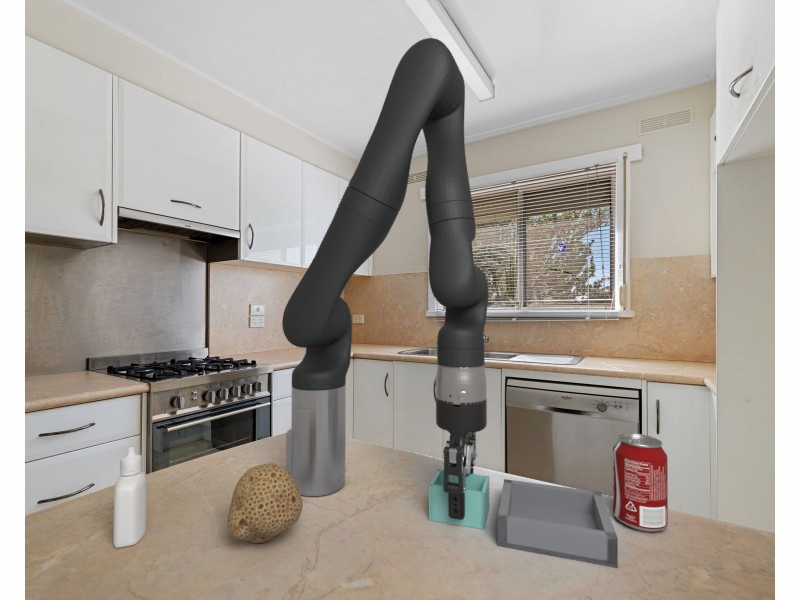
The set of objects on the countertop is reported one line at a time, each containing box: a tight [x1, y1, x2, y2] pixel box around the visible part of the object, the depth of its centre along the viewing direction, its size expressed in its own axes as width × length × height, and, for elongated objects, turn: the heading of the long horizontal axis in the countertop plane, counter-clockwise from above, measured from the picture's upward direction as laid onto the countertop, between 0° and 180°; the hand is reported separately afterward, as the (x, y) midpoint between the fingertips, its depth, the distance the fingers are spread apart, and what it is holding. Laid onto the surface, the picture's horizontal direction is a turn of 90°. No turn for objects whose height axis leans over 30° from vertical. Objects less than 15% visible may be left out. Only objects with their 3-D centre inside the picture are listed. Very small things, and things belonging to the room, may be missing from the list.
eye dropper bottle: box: [113, 446, 148, 549], centre depth 55 cm, size 4×6×12 cm
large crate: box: [497, 478, 619, 569], centre depth 57 cm, size 14×13×4 cm
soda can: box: [612, 432, 669, 533], centre depth 59 cm, size 7×7×12 cm
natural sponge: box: [227, 462, 303, 544], centre depth 54 cm, size 9×9×10 cm
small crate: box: [428, 469, 490, 530], centre depth 61 cm, size 8×6×5 cm
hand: (461, 503), depth 61 cm, fingers open, 8 cm apart
